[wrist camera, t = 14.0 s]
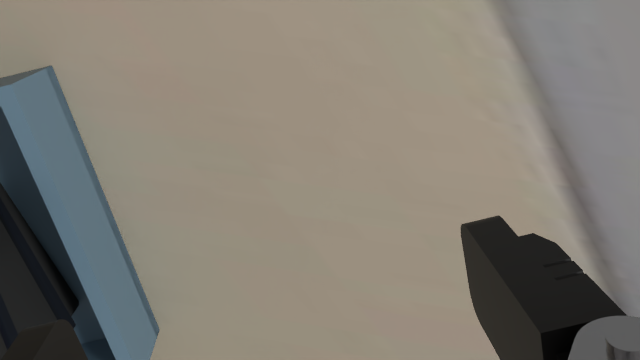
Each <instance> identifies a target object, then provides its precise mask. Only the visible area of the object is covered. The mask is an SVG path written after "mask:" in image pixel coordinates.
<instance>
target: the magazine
mask: <svg viewBox="0 0 640 360" xmlns="http://www.w3.org/2000/svg"><path fill="white" fill-rule="evenodd" d="M78 306H79V300H78V299H77V297H76V296H75V294H74V293H73V291H72V290H71V288H70V287H69V285H68V284H67V282H66V281H65V279H64V278H63V276H62V275H61V273H60V272H59V270H58V269H57V267H56V266H55V264H54V263H53V261H52V260H51V258H50V257H49V255H48V254H47V252H46V251H45V249H44V248H43V246H42V245H41V243H40V242H39V240H38V238H37V237H36V235H35V234H34V232H33V231H32V229H31V228H30V226H29V225H28V223H27V222H26V220H25V219H24V217H23V216H22V214H21V213H20V211H19V210H18V208H17V207H16V205H15V204H14V202H13V201H12V199H11V198H10V196H9V195H8V193H7V192H6V190H5V189H4V187H3V186H2V184H1V183H0V359H2V357H3V356H4V355H5V353H6V352H7V350H8V349H9V347H10V346H11V344H12V343H13V342H14V340H15V339H16V337H17V336H18V334H19V333H20V332H21V331H22V330H23V329H24V328H27V327H31V326H35V325H39V324H44V323H48V322H52V321H56V320H60V319H64V320H66V321H68V322H69V323H70V324H71V326H72V327H73V329H74V327H75V326H76V324H75V322H74V320H73V319H72V317H71V316H72V315H73V313H74V312H75V310H76V309H77V307H78Z"/></svg>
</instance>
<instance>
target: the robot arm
mask: <svg viewBox="0 0 640 360" xmlns="http://www.w3.org/2000/svg"><path fill="white" fill-rule="evenodd" d="M461 238H462V245H463V251H464V257H465V264H466V270H467V276H468V283H469V289H470V294H471V299H472V303H473V306H474V309H475V312H476V315H477V317H478V320H479V322H480V324H481V326H482V327H483V329H484V331H485V333H486V335H487V336H488V338H489V340H490V342H491V344H492V345H493V347H494V349H495V351H496V353H497V354H498V356H499V358H500V360H640V317H634V316H627V315H626V314H625V313H624V312H623V311H622V310H621V309H620V308H619V307H618V306H617V305H616V304H615V303H614V302H613V301H612V300H611V299H610V298H609V297H608V296H607V295H606V294H605V293H604V292H603V291H602V290H601V289H600V288H599V286H598V285H597V284H596V283H595V282H594V281H593V280H592V279H591V278H590V277H589V276H588V275H587V274H584V273H583V270H582V269H581V268H580V267H579V266H578V265H577V264H576V263H575V262H574V261H571V258H570V257H569V256H568V255H567V254H566V253H565V252H564V251H563V250H562V249H561V248H560V247H559V246H558V245H557V244H556V243H554V242H552V241H550V240H548V239H545V238H543V237H541V236H538V235H536V234H534V233H532V234H528V235H524V236H520V237H518V236H517V235H516V234H515V232H514V231H513V230H512V229H511V228H510V227H509V225H508V224H507V223H506V222H505V221H504V220H503V219H502V218H501V217H500V216H494V217H490V218H486V219H482V220H478V221H474V222H469V223H465V224H462V225H461ZM0 360H88V358H87V356H86V354H85V352H84V350H83V348H82V346H81V343H80V341H79V339H78V337H77V335H76V333H75V331H74V329H73V327H72V326H71V324H70V323H69V322H68V321H66V320H64V319H60V320H56V321H52V322H48V323H44V324H39V325H35V326H31V327H27V328H24V329H23V330H22V331H21V332H20V333H19V334H18V336H17V337H16V339H15V340H14V342H13V343H12V344H11V346H10V347H9V349H8V350H7V352H6V353H5V355H4V356H3V357H2V359H0Z"/></svg>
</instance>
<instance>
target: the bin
mask: <svg viewBox="0 0 640 360" xmlns="http://www.w3.org/2000/svg"><path fill="white" fill-rule="evenodd" d="M0 183H1V184H2V186H3V187H4V189H5V190H6V192H7V193H8V195H9V196H10V198H11V199H12V201H13V202H14V204H15V205H16V207H17V208H18V210H19V211H20V213H21V214H22V216H23V217H24V219H25V220H26V222H27V223H28V225H29V226H30V228H31V229H32V231H33V232H34V234H35V235H36V237H37V238H38V240H39V242H40V243H41V245H42V246H43V248H44V249H45V251H46V252H47V254H48V255H49V257H50V258H51V260H52V261H53V263H54V264H55V266H56V267H57V269H58V270H59V272H60V273H61V275H62V276H63V278H64V279H65V281H66V282H67V284H68V285H69V287H70V288H71V290H72V291H73V293H74V294H75V296H76V297H77V299H78V300H79V306H78V307H77V309H76V310H75V312H74V313H73V315H72V316H71V317H72V319H73V320H74V322H75V324H76V326H75V327H74V331H75V333H76V335H77V337H78V339H79V341H80V343H81V346H82V348H83V350H84V352H85V354H86V356H87V358H88V360H150V357H151V354H152V351H153V348H154V345H155V342H156V339H157V336H158V333H159V327H158V325H157V322H156V320H155V318H154V315H153V313H152V310H151V308H150V305H149V303H148V300H147V298H146V295H145V293H144V291H143V288H142V286H141V283H140V281H139V278H138V276H137V273H136V271H135V269H134V266H133V264H132V261H131V259H130V256H129V254H128V251H127V249H126V246H125V244H124V242H123V239H122V237H121V234H120V232H119V229H118V227H117V224H116V222H115V219H114V217H113V215H112V212H111V210H110V207H109V205H108V202H107V200H106V197H105V195H104V193H103V190H102V188H101V185H100V183H99V180H98V178H97V175H96V173H95V170H94V168H93V166H92V163H91V161H90V158H89V156H88V153H87V151H86V148H85V146H84V143H83V141H82V139H81V136H80V134H79V131H78V129H77V126H76V124H75V121H74V119H73V117H72V114H71V112H70V109H69V107H68V104H67V102H66V99H65V97H64V94H63V92H62V90H61V87H60V85H59V82H58V80H57V77H56V75H55V72H54V70H53V67H52V66H48V67H44V68H40V69H36V70H32V71H28V72H24V73H20V74H16V75H12V76H8V77H4V78H0Z"/></svg>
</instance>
